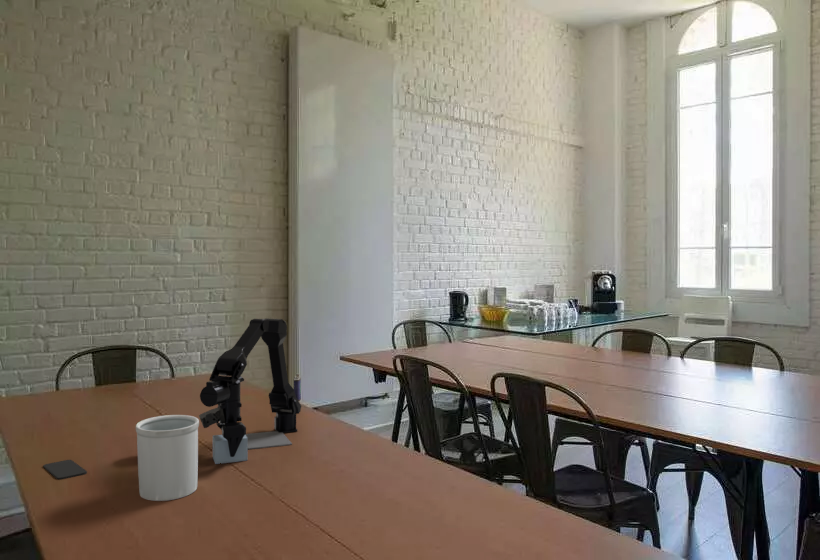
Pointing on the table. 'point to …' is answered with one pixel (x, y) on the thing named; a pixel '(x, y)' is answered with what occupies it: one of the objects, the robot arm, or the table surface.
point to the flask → (297, 386)
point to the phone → (64, 469)
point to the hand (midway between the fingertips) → (230, 452)
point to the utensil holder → (167, 456)
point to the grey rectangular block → (222, 450)
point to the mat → (267, 440)
